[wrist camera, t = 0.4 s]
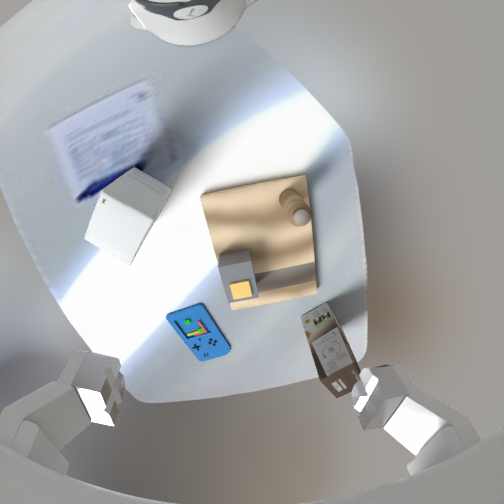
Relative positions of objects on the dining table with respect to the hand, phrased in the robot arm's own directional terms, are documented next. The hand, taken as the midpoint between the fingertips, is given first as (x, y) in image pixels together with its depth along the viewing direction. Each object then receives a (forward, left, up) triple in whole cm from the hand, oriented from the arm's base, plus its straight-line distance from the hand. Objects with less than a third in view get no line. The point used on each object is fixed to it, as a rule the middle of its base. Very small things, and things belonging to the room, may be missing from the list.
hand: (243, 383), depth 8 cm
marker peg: (+7, +8, -35) cm, 36 cm away
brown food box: (+35, +12, -36) cm, 51 cm away
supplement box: (+2, -14, -36) cm, 39 cm away
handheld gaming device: (+32, -13, -37) cm, 50 cm away
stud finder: (+17, -2, -35) cm, 39 cm away
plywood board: (+15, +3, -36) cm, 39 cm away
